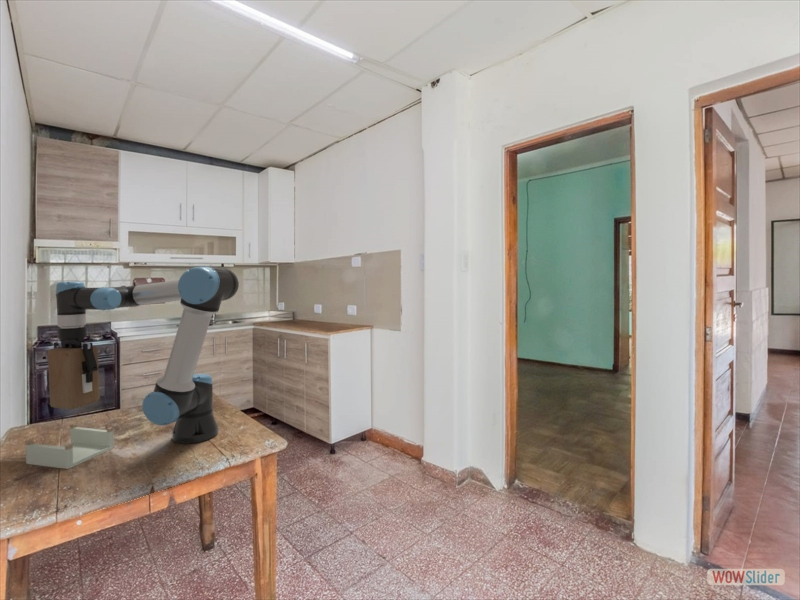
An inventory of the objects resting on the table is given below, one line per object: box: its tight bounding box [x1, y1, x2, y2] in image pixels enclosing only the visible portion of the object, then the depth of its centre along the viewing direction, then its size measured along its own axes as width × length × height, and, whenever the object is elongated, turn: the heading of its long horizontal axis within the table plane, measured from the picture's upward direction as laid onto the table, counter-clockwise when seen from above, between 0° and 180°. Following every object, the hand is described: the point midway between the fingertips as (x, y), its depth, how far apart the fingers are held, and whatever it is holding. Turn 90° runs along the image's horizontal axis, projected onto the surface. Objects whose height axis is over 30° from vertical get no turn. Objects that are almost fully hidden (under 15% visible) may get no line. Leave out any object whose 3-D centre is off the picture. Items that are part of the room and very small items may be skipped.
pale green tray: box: [25, 423, 115, 470], centre depth 130 cm, size 16×16×7 cm
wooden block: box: [47, 345, 101, 410], centre depth 136 cm, size 10×10×20 cm
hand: (75, 390), depth 137 cm, fingers closed on wooden block, 10 cm apart
